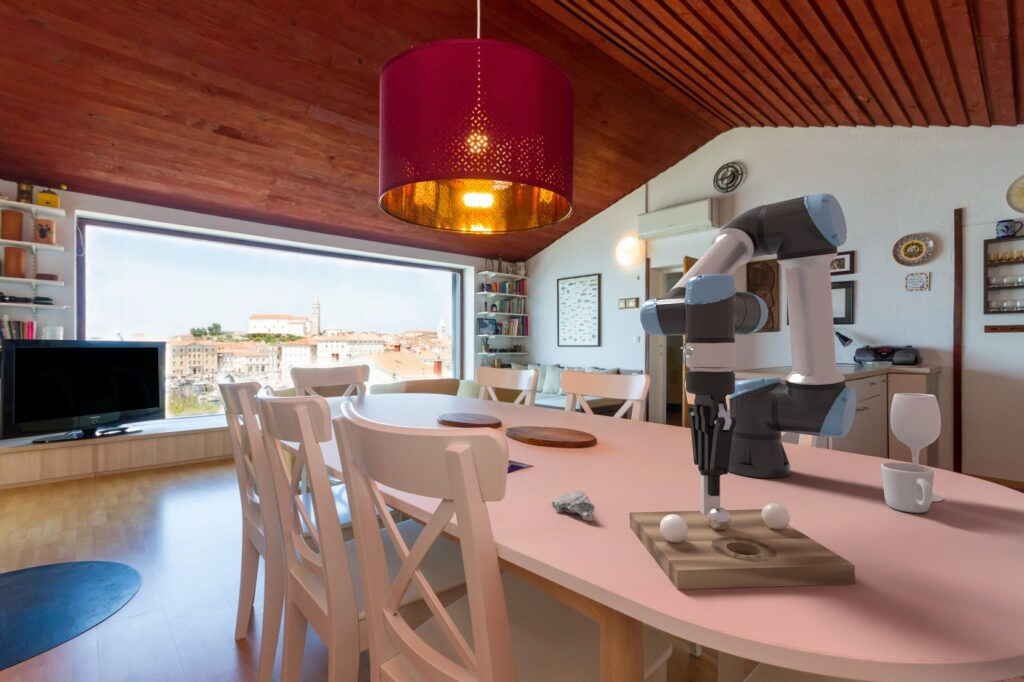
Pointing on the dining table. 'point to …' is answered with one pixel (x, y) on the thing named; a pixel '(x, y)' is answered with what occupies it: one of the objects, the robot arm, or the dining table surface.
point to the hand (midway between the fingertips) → (710, 513)
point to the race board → (739, 553)
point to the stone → (575, 504)
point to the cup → (907, 486)
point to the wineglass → (916, 423)
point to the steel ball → (719, 518)
